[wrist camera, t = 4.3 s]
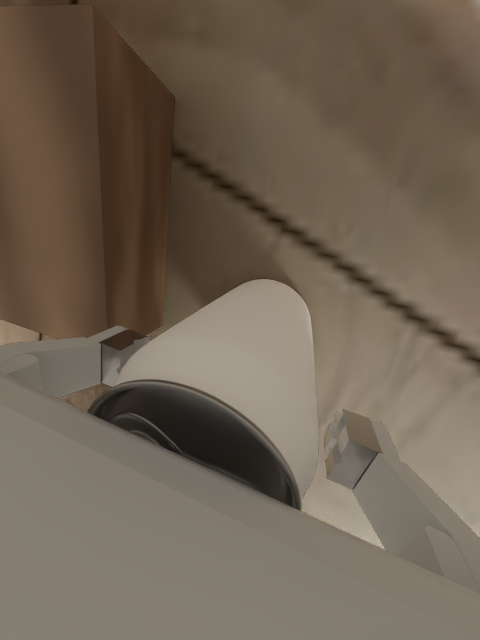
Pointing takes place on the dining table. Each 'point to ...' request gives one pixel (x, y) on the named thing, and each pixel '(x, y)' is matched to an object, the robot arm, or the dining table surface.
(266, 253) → the dining table surface
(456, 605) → the robot arm
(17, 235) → the riser block
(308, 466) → the can
